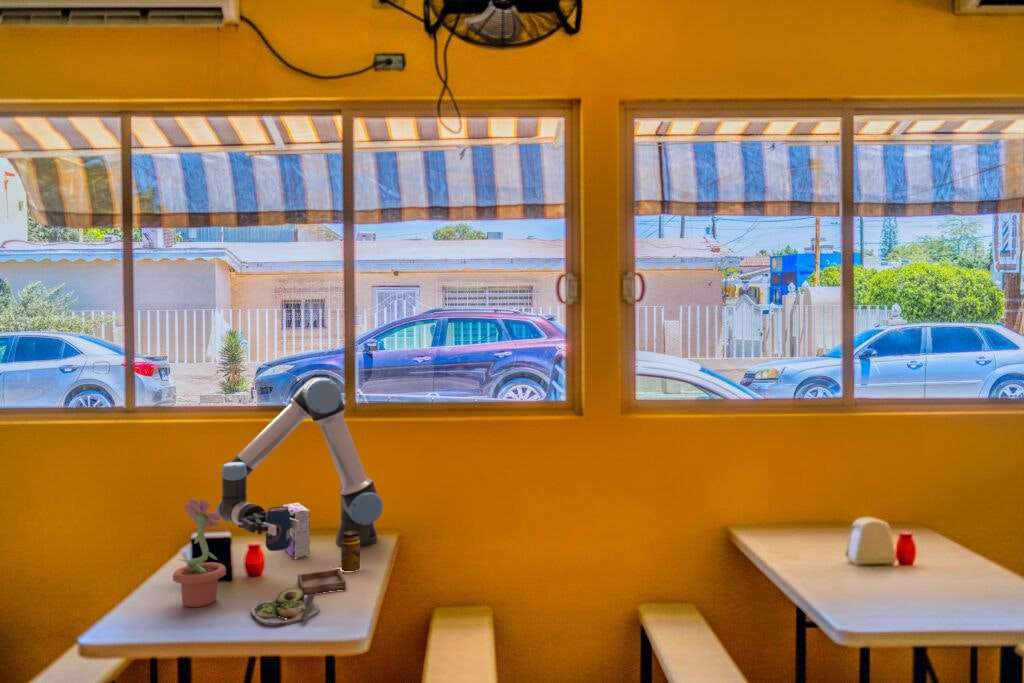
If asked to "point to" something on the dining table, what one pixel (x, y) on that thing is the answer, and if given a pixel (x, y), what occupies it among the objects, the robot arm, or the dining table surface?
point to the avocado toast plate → (286, 607)
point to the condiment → (350, 551)
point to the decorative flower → (200, 561)
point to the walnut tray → (321, 581)
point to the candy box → (299, 532)
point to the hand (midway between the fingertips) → (286, 527)
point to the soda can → (278, 528)
